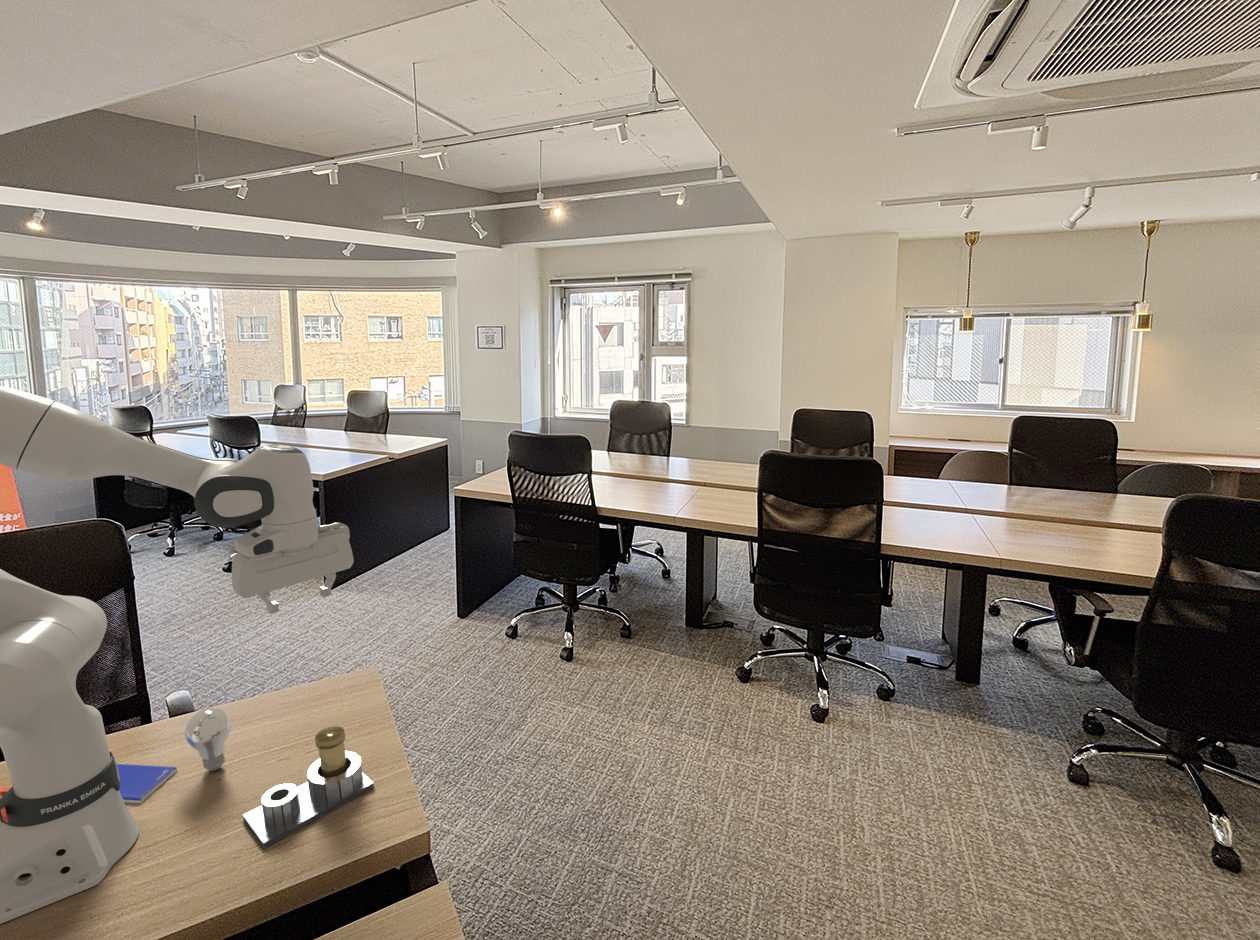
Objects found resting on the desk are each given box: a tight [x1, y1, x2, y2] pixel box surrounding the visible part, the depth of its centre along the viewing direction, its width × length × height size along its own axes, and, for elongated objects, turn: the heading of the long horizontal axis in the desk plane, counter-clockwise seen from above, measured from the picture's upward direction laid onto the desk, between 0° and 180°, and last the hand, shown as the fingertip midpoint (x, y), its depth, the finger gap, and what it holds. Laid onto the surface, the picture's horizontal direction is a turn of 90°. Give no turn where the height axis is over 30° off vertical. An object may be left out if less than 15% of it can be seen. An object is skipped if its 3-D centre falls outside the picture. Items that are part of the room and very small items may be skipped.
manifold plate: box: [242, 750, 375, 849], centre depth 109 cm, size 18×9×4 cm, turn 138°
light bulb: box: [184, 707, 232, 772], centre depth 117 cm, size 7×7×12 cm
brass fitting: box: [314, 725, 347, 778], centre depth 112 cm, size 5×5×10 cm
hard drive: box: [117, 763, 178, 804], centre depth 114 cm, size 2×8×12 cm
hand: (300, 603), depth 119 cm, fingers open, 8 cm apart
